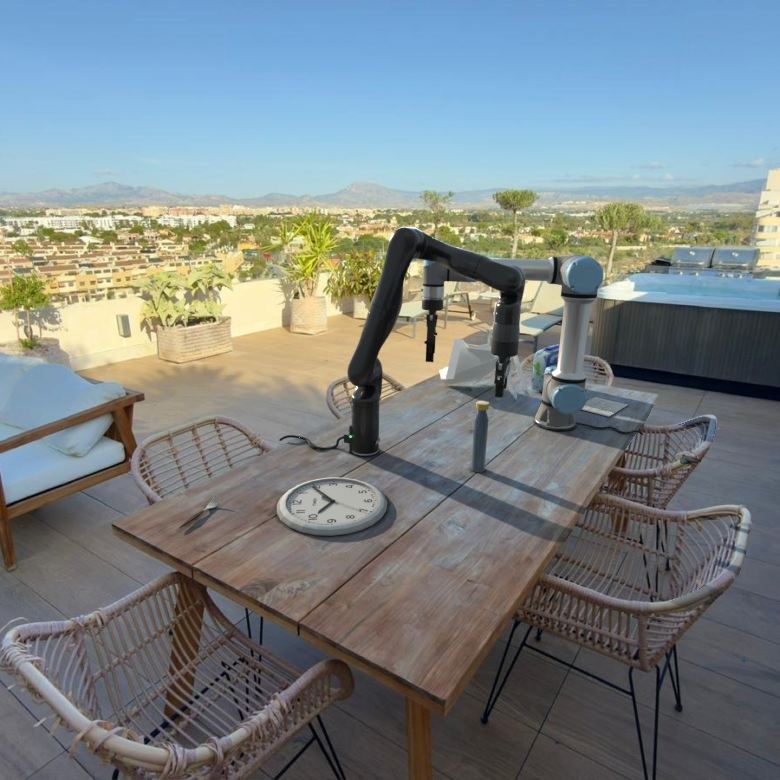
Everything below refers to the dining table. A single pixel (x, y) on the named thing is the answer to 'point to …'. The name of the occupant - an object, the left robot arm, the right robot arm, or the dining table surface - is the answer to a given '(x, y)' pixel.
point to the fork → (209, 506)
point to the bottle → (479, 441)
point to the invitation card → (603, 406)
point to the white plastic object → (476, 365)
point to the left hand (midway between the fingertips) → (500, 392)
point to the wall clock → (331, 506)
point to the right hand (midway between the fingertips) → (430, 357)
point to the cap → (482, 405)
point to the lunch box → (543, 365)
